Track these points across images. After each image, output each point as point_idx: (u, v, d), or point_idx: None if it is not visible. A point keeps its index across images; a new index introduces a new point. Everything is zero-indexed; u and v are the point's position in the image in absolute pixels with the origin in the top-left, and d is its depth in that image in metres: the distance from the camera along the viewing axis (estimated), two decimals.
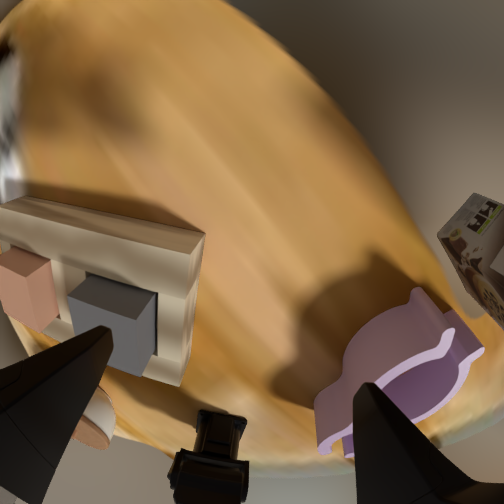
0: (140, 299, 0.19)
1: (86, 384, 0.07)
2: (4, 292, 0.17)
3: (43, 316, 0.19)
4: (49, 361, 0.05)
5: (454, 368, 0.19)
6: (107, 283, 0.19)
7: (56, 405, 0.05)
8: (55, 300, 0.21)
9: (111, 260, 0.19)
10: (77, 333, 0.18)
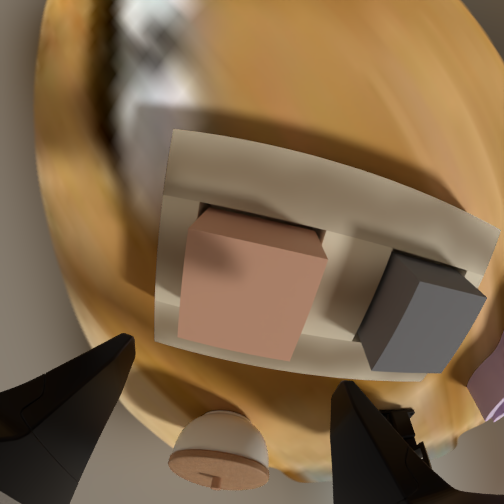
0: (462, 278, 0.14)
1: (110, 395, 0.07)
2: (210, 297, 0.12)
3: None
4: (73, 374, 0.05)
5: None
6: (421, 263, 0.14)
7: (81, 419, 0.05)
8: None
9: (437, 233, 0.14)
10: (395, 339, 0.13)
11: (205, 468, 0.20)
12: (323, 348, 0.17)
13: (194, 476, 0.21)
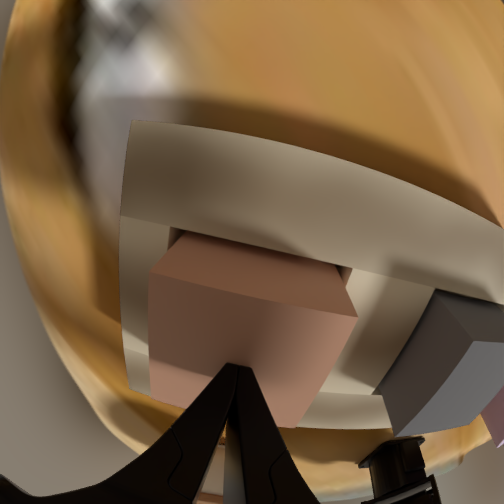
0: None
1: (223, 429, 0.07)
2: (188, 362, 0.08)
3: None
4: (204, 421, 0.05)
5: None
6: (464, 303, 0.10)
7: (211, 463, 0.05)
8: None
9: (486, 266, 0.09)
10: (430, 405, 0.08)
11: None
12: (335, 403, 0.13)
13: None
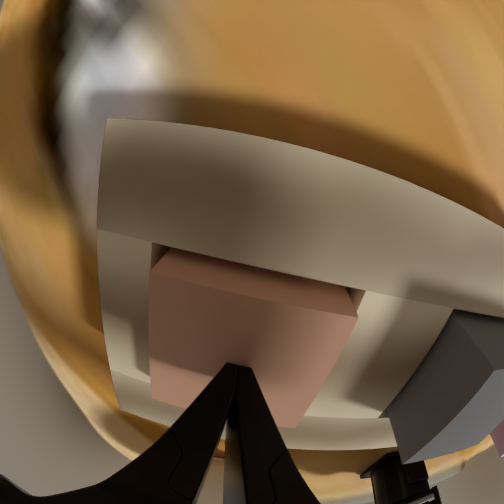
0: None
1: (223, 429, 0.07)
2: (189, 362, 0.08)
3: None
4: (204, 421, 0.05)
5: None
6: (481, 323, 0.08)
7: None
8: None
9: None
10: (442, 434, 0.07)
11: None
12: (339, 427, 0.11)
13: None
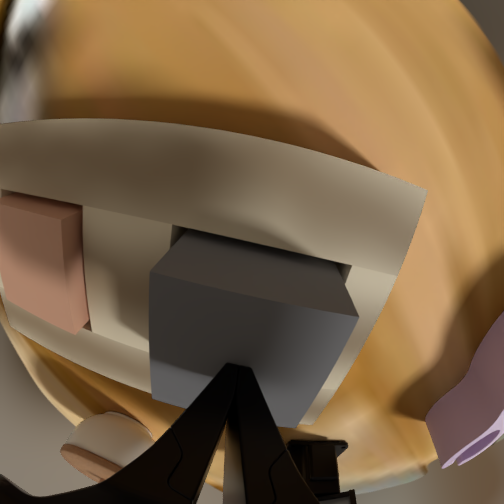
0: (324, 276, 0.09)
1: (223, 429, 0.07)
2: (9, 261, 0.10)
3: (83, 303, 0.12)
4: (204, 421, 0.05)
5: None
6: (233, 246, 0.10)
7: (211, 463, 0.05)
8: None
9: (257, 196, 0.09)
10: (159, 362, 0.09)
11: (87, 467, 0.16)
12: (133, 358, 0.13)
13: (88, 474, 0.17)
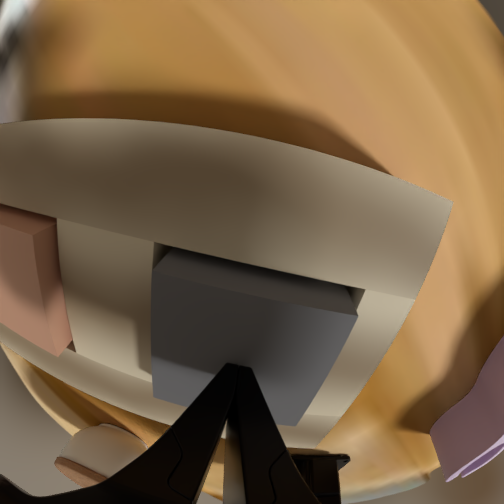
0: None
1: (223, 429, 0.07)
2: None
3: (64, 323, 0.10)
4: (204, 421, 0.05)
5: None
6: None
7: (211, 463, 0.05)
8: None
9: (254, 209, 0.08)
10: (160, 361, 0.09)
11: (81, 481, 0.14)
12: (120, 382, 0.11)
13: (83, 486, 0.15)
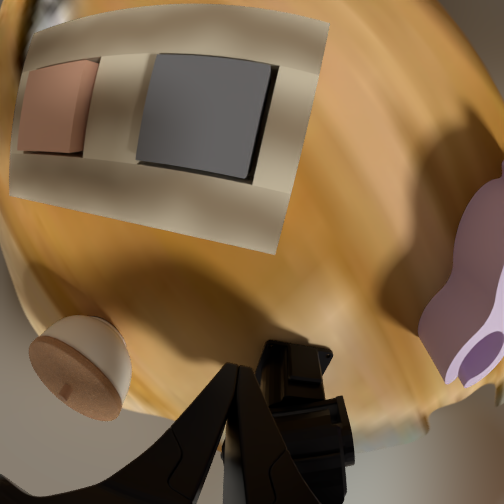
0: None
1: (223, 429, 0.07)
2: (32, 109, 0.12)
3: (82, 132, 0.14)
4: (204, 421, 0.05)
5: None
6: None
7: None
8: None
9: (212, 30, 0.11)
10: (148, 115, 0.12)
11: (51, 366, 0.18)
12: (110, 176, 0.15)
13: (53, 384, 0.19)
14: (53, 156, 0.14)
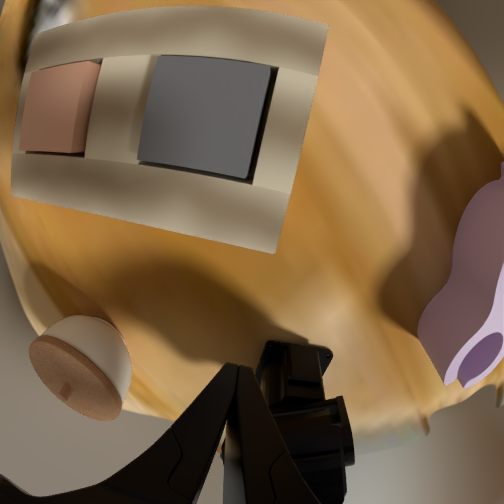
0: None
1: (223, 429, 0.07)
2: (34, 110, 0.12)
3: (83, 132, 0.14)
4: (204, 421, 0.05)
5: None
6: None
7: None
8: None
9: (213, 32, 0.11)
10: (149, 116, 0.12)
11: (51, 365, 0.18)
12: (112, 176, 0.15)
13: (54, 384, 0.19)
14: (55, 156, 0.14)
